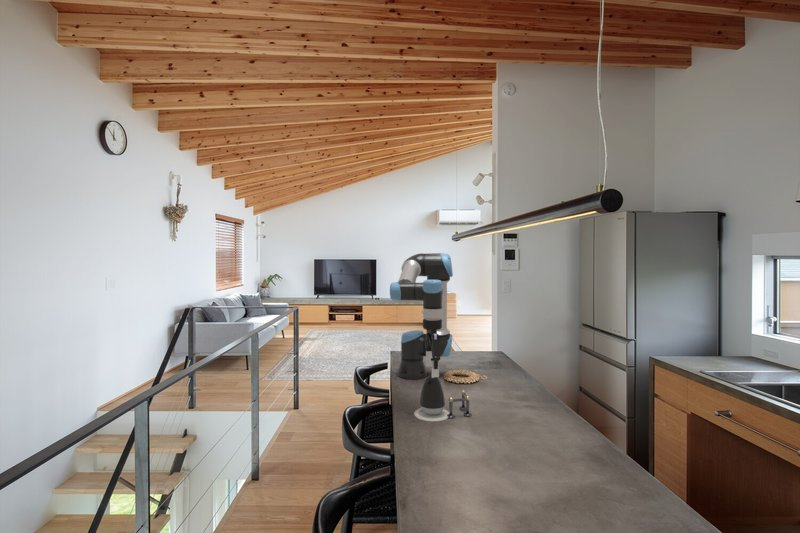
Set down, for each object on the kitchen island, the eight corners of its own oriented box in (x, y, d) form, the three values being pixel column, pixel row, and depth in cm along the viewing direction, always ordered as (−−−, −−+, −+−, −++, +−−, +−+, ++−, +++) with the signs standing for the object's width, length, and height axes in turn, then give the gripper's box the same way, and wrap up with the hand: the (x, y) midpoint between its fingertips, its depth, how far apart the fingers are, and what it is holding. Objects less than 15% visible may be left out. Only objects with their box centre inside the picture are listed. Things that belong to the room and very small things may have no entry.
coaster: (412, 408, 175) (412, 407, 175) (445, 407, 177) (445, 406, 177) (417, 422, 161) (417, 420, 161) (453, 420, 163) (453, 419, 163)
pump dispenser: (414, 414, 167) (414, 376, 166) (425, 406, 176) (425, 370, 175) (438, 419, 162) (439, 380, 161) (448, 410, 171) (449, 373, 171)
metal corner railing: (442, 408, 176) (442, 389, 176) (466, 407, 177) (466, 388, 177) (447, 418, 165) (447, 398, 165) (473, 417, 166) (473, 398, 166)
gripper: (418, 313, 180) (418, 363, 181) (428, 324, 155) (428, 381, 156) (436, 313, 181) (435, 362, 182) (448, 324, 156) (448, 381, 157)
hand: (432, 371), depth 169 cm, fingers open, 13 cm apart
